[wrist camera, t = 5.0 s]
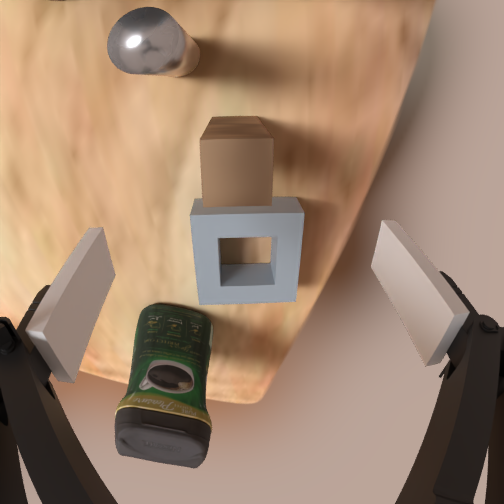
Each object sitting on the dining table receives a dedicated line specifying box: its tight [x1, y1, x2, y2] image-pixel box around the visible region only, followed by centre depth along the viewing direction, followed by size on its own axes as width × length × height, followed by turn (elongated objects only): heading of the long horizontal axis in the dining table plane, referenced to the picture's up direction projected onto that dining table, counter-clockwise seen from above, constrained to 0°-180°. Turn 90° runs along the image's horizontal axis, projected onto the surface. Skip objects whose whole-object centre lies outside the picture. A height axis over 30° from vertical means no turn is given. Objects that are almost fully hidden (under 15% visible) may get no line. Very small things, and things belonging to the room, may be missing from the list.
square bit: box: [200, 116, 274, 207], centre depth 22 cm, size 4×4×12 cm
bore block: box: [190, 197, 305, 305], centre depth 31 cm, size 10×10×4 cm
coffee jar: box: [115, 304, 213, 468], centre depth 31 cm, size 10×8×19 cm
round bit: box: [107, 7, 200, 77], centre depth 18 cm, size 4×4×12 cm
